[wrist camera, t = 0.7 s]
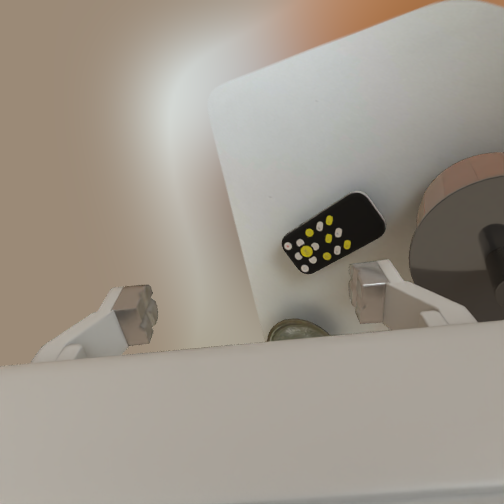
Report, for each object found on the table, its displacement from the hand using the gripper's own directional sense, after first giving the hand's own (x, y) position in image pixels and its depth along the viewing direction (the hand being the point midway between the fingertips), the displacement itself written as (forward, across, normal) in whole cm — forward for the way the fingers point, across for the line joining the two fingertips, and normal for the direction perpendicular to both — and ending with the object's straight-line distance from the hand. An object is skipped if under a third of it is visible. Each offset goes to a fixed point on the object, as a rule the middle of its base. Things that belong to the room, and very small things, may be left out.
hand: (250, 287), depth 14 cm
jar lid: (+12, -19, +8) cm, 24 cm away
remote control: (+28, -9, +13) cm, 32 cm away
